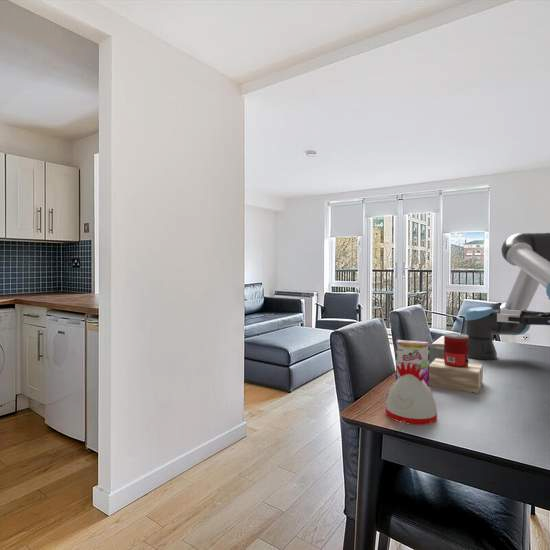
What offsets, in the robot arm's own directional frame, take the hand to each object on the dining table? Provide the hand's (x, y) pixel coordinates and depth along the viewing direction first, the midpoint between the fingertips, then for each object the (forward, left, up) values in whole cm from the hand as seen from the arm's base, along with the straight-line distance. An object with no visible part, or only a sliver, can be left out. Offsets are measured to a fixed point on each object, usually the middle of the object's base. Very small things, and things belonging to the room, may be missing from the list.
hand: (498, 315), depth 135 cm
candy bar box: (+21, -25, -26) cm, 41 cm away
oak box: (+8, -13, -25) cm, 29 cm away
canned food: (+8, -13, -19) cm, 24 cm away
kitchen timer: (+46, -19, -26) cm, 56 cm away
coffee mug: (-9, -23, -26) cm, 35 cm away
